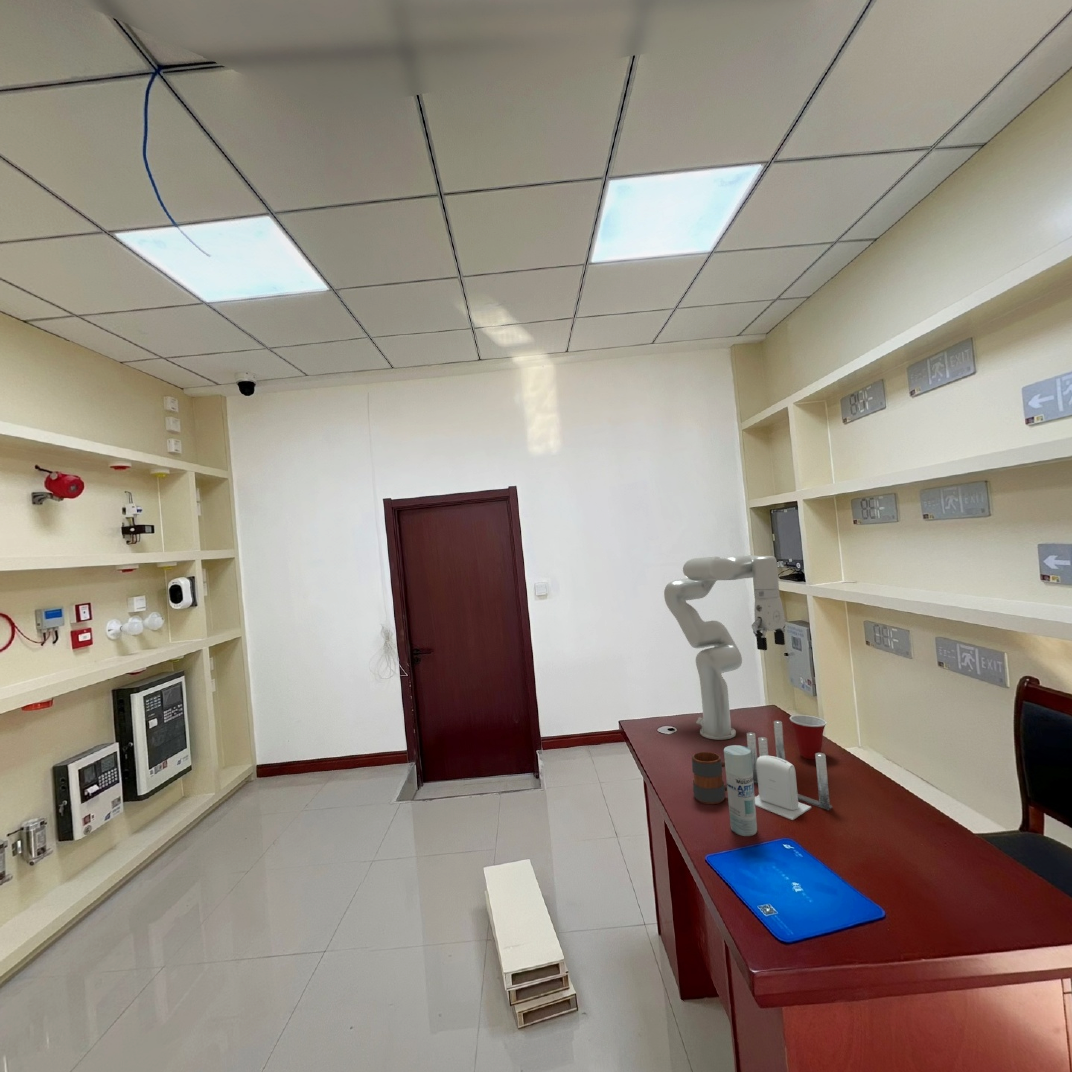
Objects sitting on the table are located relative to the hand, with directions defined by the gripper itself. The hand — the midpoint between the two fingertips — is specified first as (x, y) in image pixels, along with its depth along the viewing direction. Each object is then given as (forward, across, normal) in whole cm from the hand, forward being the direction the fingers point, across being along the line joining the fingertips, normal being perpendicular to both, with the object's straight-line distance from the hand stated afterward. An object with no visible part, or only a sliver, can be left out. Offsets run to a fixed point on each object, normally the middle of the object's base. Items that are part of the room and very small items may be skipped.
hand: (771, 647), depth 177 cm
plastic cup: (+36, +9, -5) cm, 38 cm away
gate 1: (+36, -12, -3) cm, 38 cm away
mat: (+36, -27, -16) cm, 48 cm away
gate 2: (+36, -20, -16) cm, 44 cm away
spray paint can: (+36, -44, -17) cm, 60 cm away
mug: (+36, -35, -2) cm, 51 cm away
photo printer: (+36, -27, -16) cm, 48 cm away
